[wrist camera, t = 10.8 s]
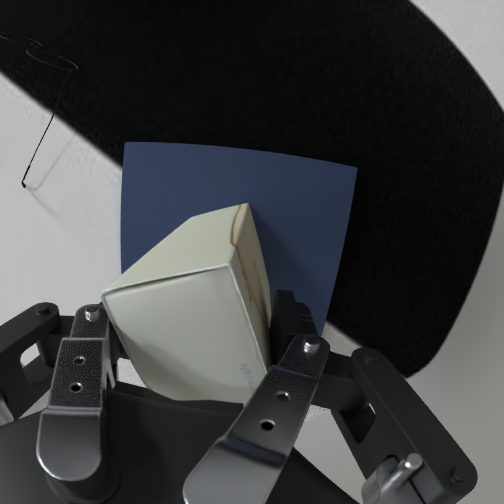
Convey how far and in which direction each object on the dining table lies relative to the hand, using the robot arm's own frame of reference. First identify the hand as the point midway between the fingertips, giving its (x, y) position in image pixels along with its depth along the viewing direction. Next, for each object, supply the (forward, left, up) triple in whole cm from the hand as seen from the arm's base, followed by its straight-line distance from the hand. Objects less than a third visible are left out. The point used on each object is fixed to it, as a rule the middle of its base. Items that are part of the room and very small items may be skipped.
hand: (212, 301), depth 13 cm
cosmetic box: (0, 0, -8) cm, 8 cm away
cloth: (0, 0, -8) cm, 8 cm away
